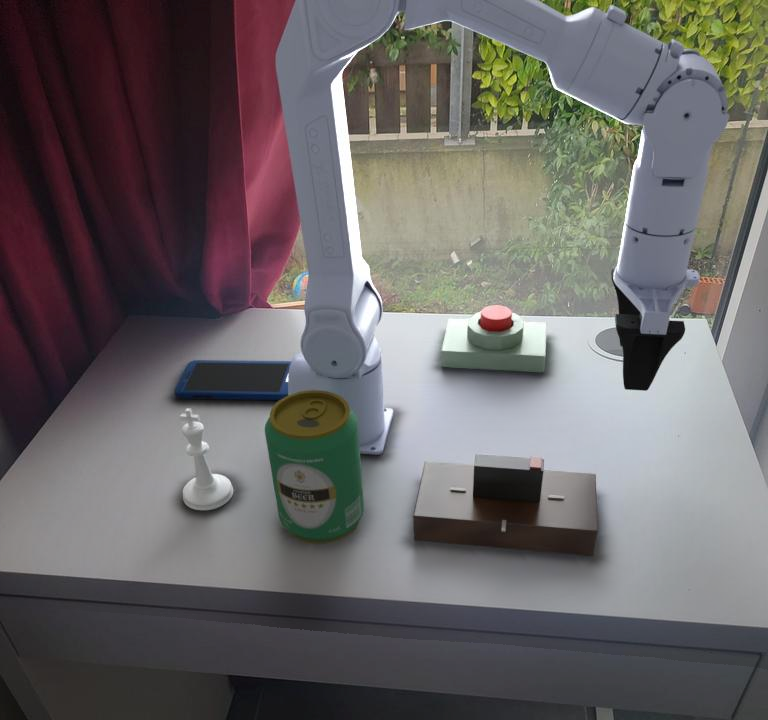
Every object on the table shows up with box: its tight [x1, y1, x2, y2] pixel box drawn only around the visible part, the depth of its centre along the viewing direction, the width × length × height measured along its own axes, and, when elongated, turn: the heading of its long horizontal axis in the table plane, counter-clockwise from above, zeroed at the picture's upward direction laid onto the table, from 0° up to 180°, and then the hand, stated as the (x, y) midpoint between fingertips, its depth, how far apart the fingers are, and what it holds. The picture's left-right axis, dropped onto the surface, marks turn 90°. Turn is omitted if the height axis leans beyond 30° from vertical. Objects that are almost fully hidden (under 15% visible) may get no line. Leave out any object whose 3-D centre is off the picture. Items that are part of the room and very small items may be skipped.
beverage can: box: [264, 390, 365, 545], centre depth 73 cm, size 8×8×12 cm
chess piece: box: [179, 407, 234, 511], centre depth 77 cm, size 5×5×10 cm
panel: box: [412, 460, 599, 557], centre depth 75 cm, size 16×10×3 cm, turn 80°
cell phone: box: [173, 359, 292, 401], centre depth 95 cm, size 7×14×1 cm, turn 85°
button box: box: [440, 311, 548, 373], centre depth 97 cm, size 12×8×4 cm, turn 80°
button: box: [480, 304, 513, 332], centre depth 95 cm, size 4×4×2 cm
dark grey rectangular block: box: [473, 453, 545, 502], centre depth 73 cm, size 6×2×4 cm, turn 80°
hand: (633, 365), depth 76 cm, fingers open, 7 cm apart
